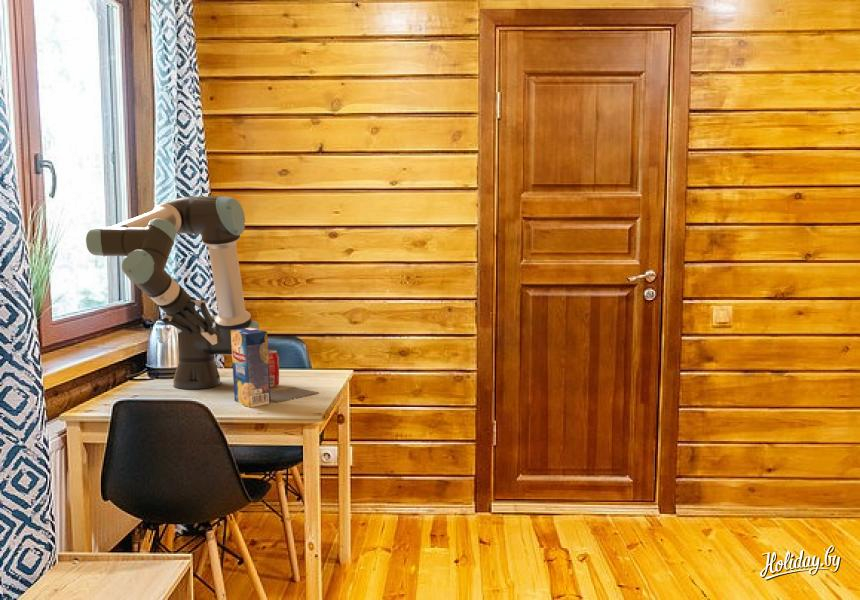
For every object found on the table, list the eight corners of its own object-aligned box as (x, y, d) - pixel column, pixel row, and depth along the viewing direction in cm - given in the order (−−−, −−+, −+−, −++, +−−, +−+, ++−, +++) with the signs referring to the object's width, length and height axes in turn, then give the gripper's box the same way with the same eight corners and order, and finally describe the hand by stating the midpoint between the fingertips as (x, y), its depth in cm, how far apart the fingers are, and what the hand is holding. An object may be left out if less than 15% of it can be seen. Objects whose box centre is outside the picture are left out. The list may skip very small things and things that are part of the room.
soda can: (270, 383, 255) (270, 348, 254) (283, 386, 250) (283, 351, 249) (253, 386, 249) (253, 351, 248) (266, 389, 245) (266, 353, 244)
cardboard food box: (255, 396, 234) (251, 327, 231) (270, 403, 225) (267, 331, 222) (234, 400, 229) (230, 330, 227) (249, 407, 221) (245, 334, 218)
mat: (251, 396, 234) (251, 396, 234) (293, 388, 248) (293, 387, 248) (276, 402, 227) (276, 401, 227) (318, 393, 241) (318, 392, 241)
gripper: (146, 314, 194) (194, 359, 212) (191, 296, 192) (236, 342, 211) (146, 293, 198) (193, 338, 217) (190, 275, 197) (234, 322, 215)
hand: (214, 340), depth 214 cm, fingers closed
